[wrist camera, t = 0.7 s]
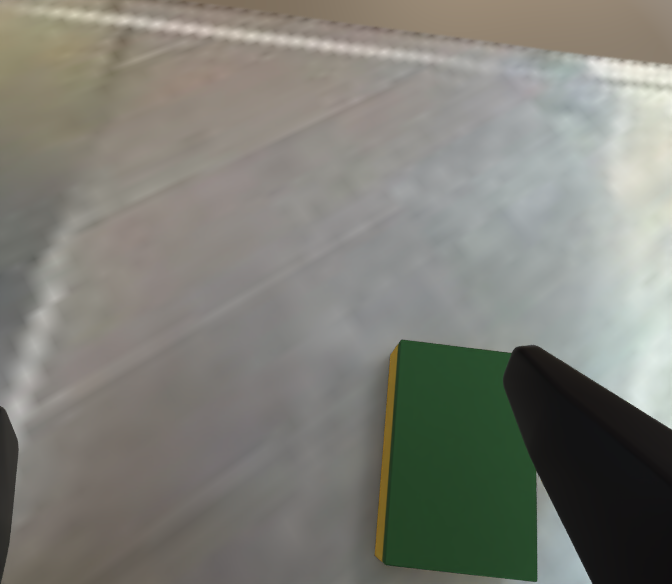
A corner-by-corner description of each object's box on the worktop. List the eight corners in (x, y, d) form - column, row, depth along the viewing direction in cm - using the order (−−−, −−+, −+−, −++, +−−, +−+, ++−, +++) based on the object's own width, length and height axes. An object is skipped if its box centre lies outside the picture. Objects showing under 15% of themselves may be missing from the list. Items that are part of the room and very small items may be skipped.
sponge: (510, 571, 24) (538, 582, 22) (374, 556, 24) (384, 565, 22) (511, 368, 27) (535, 355, 25) (390, 354, 27) (400, 339, 24)
